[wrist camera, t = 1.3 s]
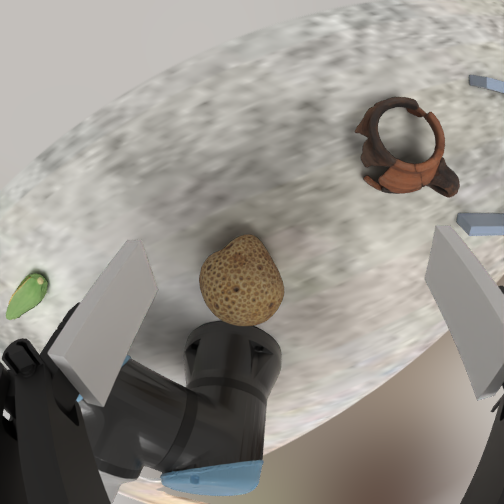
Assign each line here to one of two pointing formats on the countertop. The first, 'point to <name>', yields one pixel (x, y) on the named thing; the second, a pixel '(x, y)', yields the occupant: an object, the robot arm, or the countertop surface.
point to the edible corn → (27, 296)
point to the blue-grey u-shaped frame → (483, 221)
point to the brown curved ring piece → (401, 173)
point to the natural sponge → (242, 283)
